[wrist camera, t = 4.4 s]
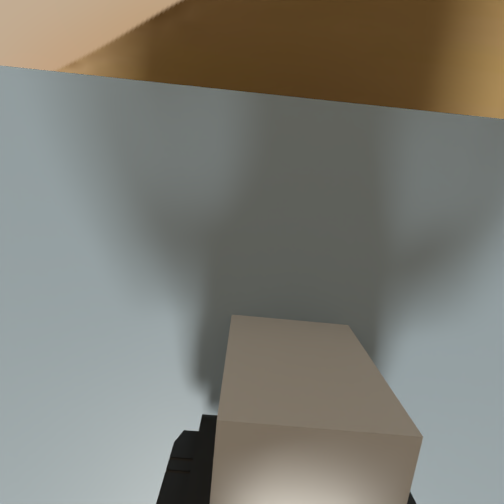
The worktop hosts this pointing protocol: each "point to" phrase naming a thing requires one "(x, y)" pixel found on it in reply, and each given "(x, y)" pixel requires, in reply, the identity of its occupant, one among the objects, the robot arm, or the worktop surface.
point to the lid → (247, 294)
